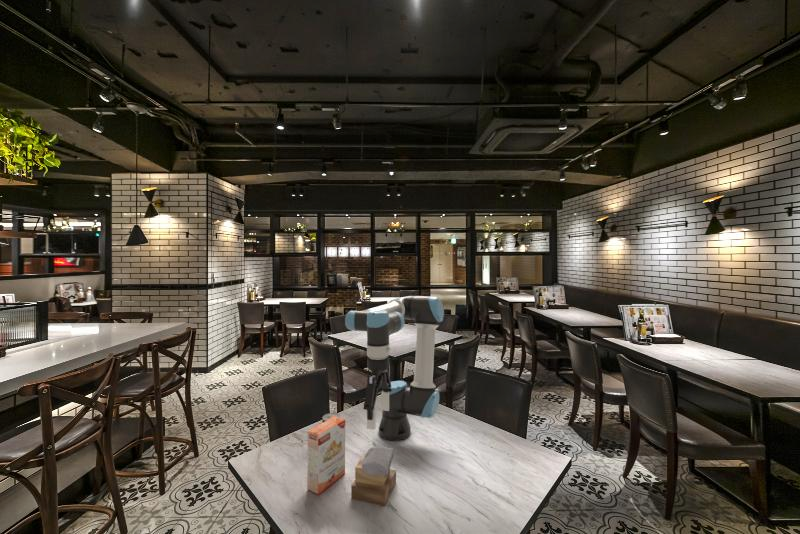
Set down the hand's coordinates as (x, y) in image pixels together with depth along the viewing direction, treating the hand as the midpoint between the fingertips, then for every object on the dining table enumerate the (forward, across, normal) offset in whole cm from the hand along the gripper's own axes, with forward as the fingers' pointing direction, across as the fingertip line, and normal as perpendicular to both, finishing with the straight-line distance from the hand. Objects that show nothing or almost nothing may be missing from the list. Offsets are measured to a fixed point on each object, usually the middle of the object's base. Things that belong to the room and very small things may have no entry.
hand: (378, 418), depth 111 cm
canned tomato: (+27, +27, +33) cm, 50 cm away
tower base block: (+27, +2, +3) cm, 27 cm away
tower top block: (+22, +3, +3) cm, 23 cm away
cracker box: (+27, +2, +21) cm, 34 cm away
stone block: (+17, +2, +1) cm, 17 cm away
